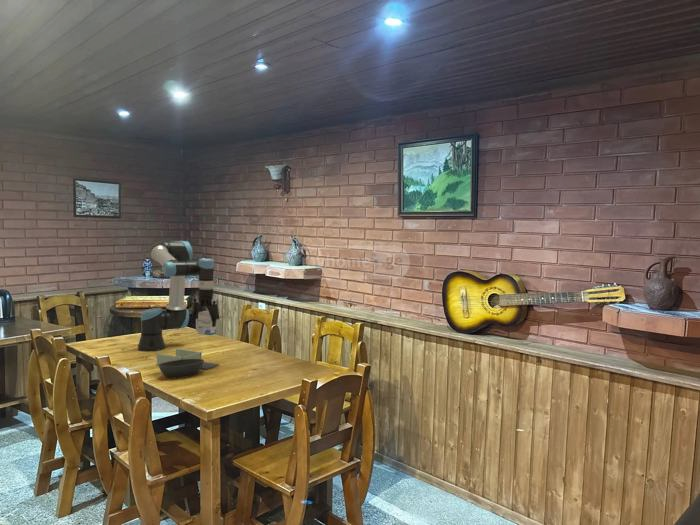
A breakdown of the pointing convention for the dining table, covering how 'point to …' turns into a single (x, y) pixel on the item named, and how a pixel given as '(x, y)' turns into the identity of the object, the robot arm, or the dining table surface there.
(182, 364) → the bowl
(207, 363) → the stand mat
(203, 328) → the ink box
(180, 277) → the robot arm
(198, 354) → the grey open box
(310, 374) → the dining table surface
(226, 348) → the dining table surface
